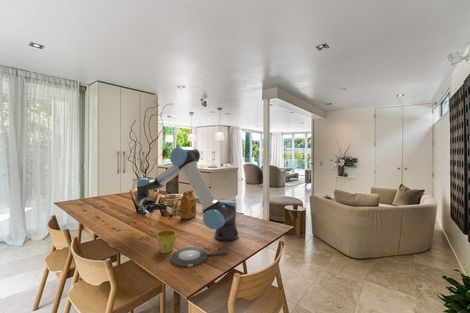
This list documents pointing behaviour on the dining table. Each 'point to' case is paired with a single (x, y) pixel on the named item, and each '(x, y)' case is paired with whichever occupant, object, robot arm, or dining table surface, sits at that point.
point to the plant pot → (166, 240)
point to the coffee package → (188, 205)
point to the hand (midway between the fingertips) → (160, 213)
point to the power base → (191, 256)
